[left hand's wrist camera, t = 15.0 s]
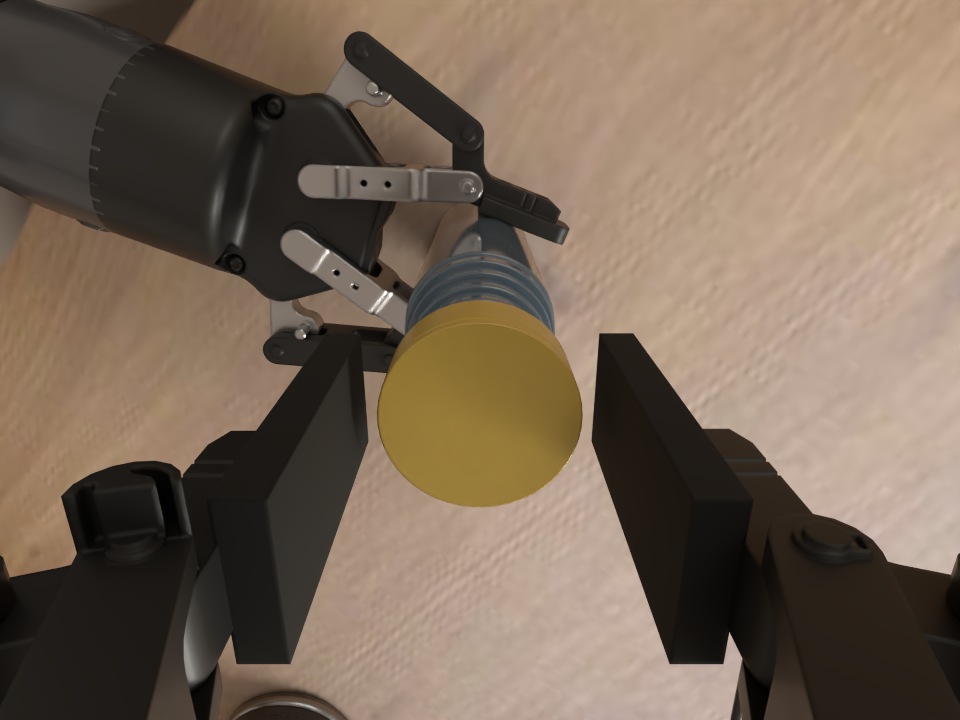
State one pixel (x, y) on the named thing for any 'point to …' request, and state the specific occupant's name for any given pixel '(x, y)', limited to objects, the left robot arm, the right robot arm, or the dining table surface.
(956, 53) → the dining table surface
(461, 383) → the cap
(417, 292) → the bottle
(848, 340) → the dining table surface
